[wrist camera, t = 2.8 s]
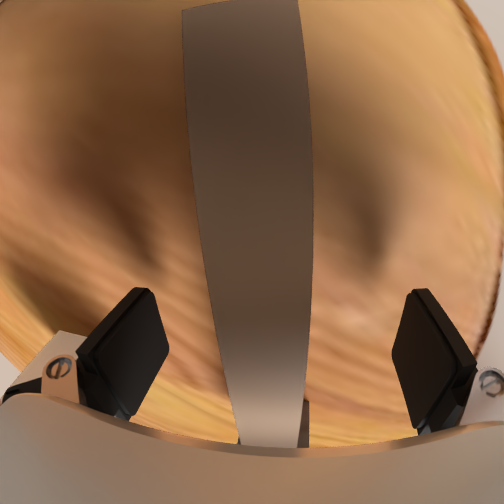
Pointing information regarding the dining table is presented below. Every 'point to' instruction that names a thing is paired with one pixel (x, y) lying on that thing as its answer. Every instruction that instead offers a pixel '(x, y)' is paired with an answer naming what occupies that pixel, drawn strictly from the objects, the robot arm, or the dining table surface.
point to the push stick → (254, 204)
